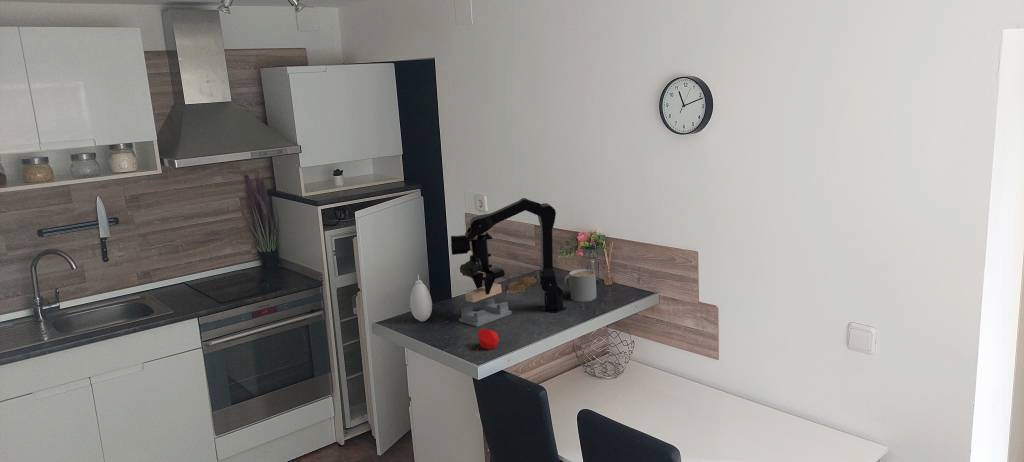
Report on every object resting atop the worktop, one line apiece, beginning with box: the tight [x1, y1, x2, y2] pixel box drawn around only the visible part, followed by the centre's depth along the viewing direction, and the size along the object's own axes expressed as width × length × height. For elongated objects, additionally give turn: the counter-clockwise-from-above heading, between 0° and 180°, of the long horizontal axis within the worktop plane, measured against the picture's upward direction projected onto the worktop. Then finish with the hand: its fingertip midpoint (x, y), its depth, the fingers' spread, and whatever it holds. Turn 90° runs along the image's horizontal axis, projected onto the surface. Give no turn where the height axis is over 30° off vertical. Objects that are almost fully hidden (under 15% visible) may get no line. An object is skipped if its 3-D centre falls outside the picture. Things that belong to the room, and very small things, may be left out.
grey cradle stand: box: [458, 297, 513, 328], centre depth 269 cm, size 10×17×4 cm, turn 133°
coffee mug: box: [564, 268, 597, 303], centre depth 284 cm, size 13×10×10 cm
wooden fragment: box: [506, 276, 538, 295], centre depth 308 cm, size 26×11×1 cm, turn 153°
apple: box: [477, 327, 500, 350], centre depth 240 cm, size 7×7×8 cm
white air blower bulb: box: [409, 274, 433, 322], centre depth 269 cm, size 8×8×18 cm
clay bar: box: [464, 282, 502, 303], centre depth 267 cm, size 4×14×3 cm, turn 134°
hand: (483, 293), depth 268 cm, fingers closed on clay bar, 4 cm apart
